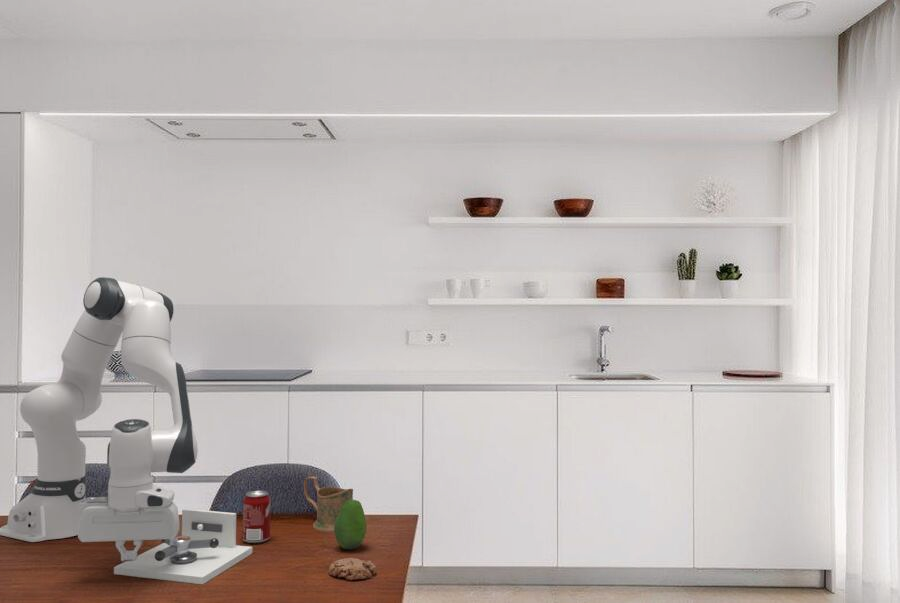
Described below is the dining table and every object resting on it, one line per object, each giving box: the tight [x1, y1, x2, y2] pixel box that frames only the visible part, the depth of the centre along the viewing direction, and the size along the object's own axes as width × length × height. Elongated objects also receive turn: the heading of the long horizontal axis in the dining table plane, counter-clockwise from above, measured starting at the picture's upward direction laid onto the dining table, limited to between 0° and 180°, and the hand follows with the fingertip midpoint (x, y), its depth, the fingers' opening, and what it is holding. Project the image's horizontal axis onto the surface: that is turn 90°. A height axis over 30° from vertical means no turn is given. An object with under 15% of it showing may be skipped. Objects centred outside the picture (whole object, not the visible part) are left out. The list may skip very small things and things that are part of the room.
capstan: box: [155, 535, 219, 563], centre depth 164 cm, size 15×13×5 cm
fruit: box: [333, 499, 367, 551], centre depth 180 cm, size 8×8×12 cm
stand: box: [113, 508, 254, 585], centre depth 168 cm, size 22×21×10 cm
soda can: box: [241, 490, 271, 545], centre depth 186 cm, size 7×7×12 cm
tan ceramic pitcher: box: [303, 476, 354, 533], centre depth 201 cm, size 12×18×12 cm, turn 54°
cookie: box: [328, 557, 377, 581], centre depth 163 cm, size 10×11×3 cm
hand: (129, 560), depth 158 cm, fingers closed
